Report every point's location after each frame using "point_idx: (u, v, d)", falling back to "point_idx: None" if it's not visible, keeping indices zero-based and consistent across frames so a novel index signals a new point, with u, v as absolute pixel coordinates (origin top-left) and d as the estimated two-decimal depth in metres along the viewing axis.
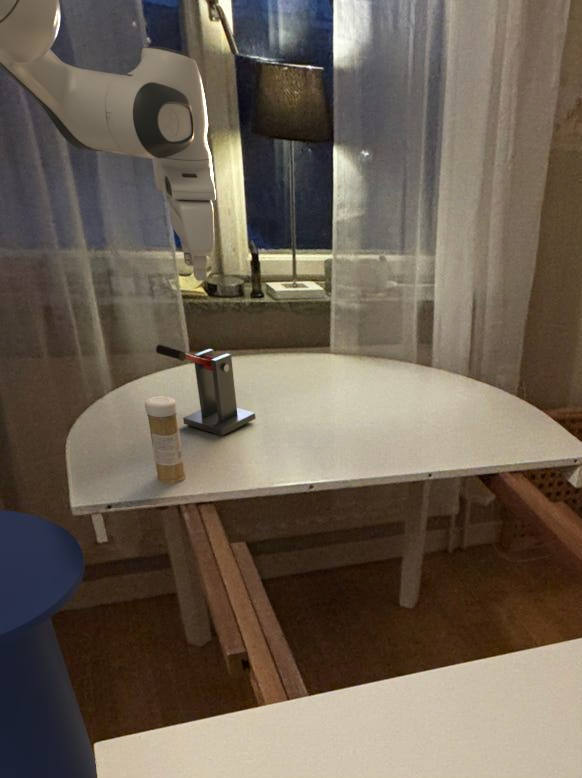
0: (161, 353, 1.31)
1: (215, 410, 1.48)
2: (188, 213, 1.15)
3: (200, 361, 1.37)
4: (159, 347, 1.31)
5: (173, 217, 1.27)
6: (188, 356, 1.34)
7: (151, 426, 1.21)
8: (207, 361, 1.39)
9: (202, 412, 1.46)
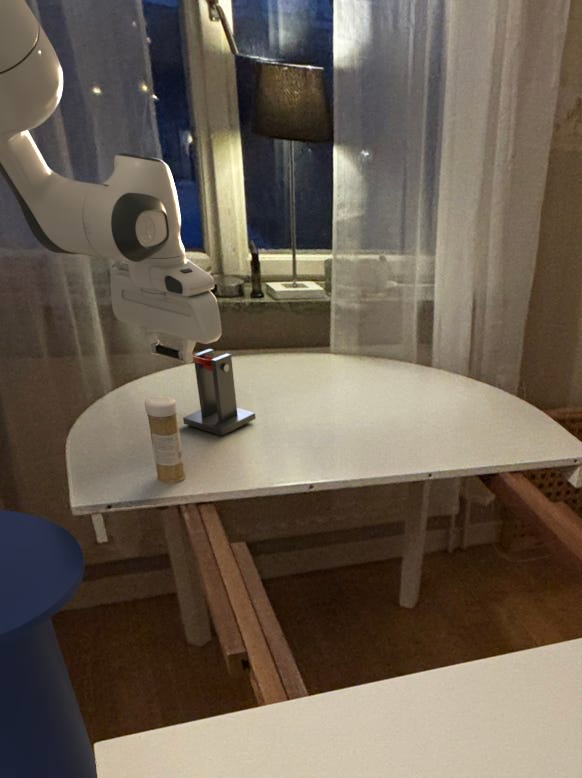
0: (161, 353, 1.31)
1: (215, 410, 1.48)
2: (202, 306, 1.21)
3: (200, 361, 1.37)
4: (159, 347, 1.31)
5: (133, 310, 1.27)
6: None
7: (151, 426, 1.21)
8: (207, 361, 1.39)
9: (202, 412, 1.46)
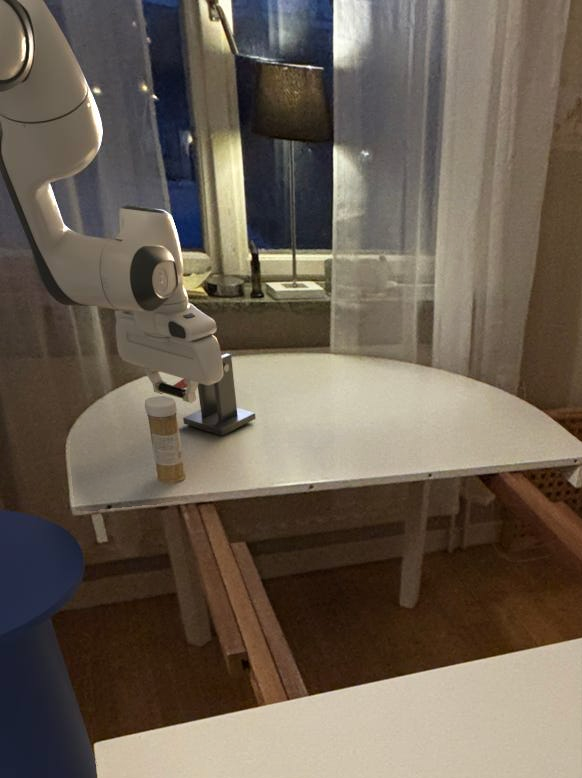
0: (165, 393, 1.35)
1: (215, 410, 1.48)
2: (205, 350, 1.25)
3: None
4: (160, 388, 1.34)
5: (137, 352, 1.31)
6: None
7: (151, 426, 1.21)
8: None
9: (202, 412, 1.46)
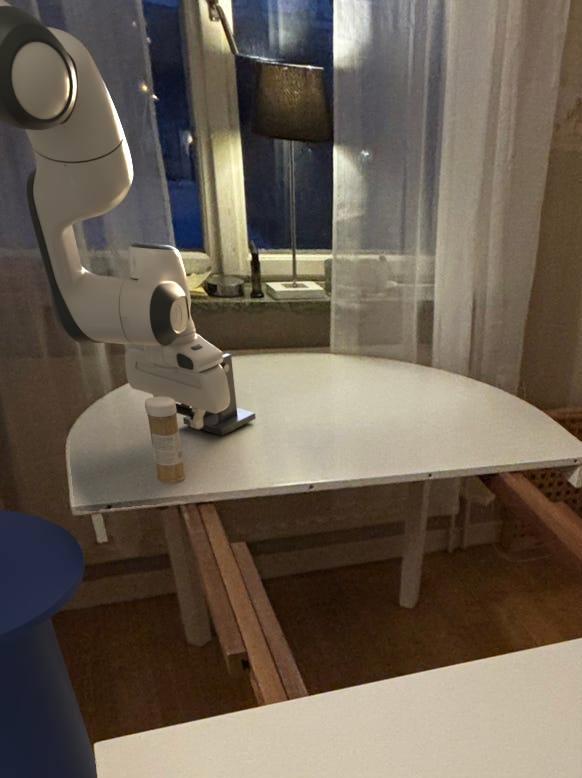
0: None
1: None
2: (212, 380, 1.29)
3: None
4: None
5: (146, 380, 1.35)
6: None
7: (151, 426, 1.21)
8: None
9: None
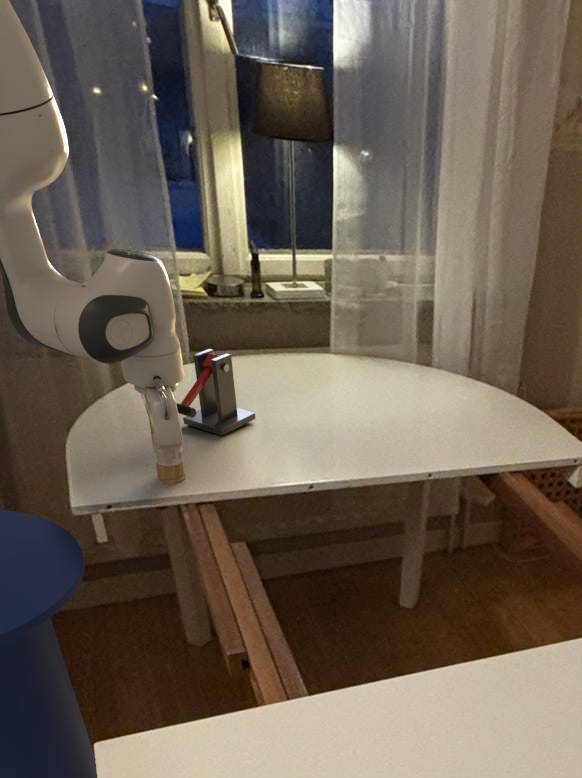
0: None
1: (215, 410, 1.48)
2: None
3: (204, 382, 1.40)
4: None
5: None
6: (194, 394, 1.38)
7: None
8: (208, 373, 1.40)
9: (202, 412, 1.46)
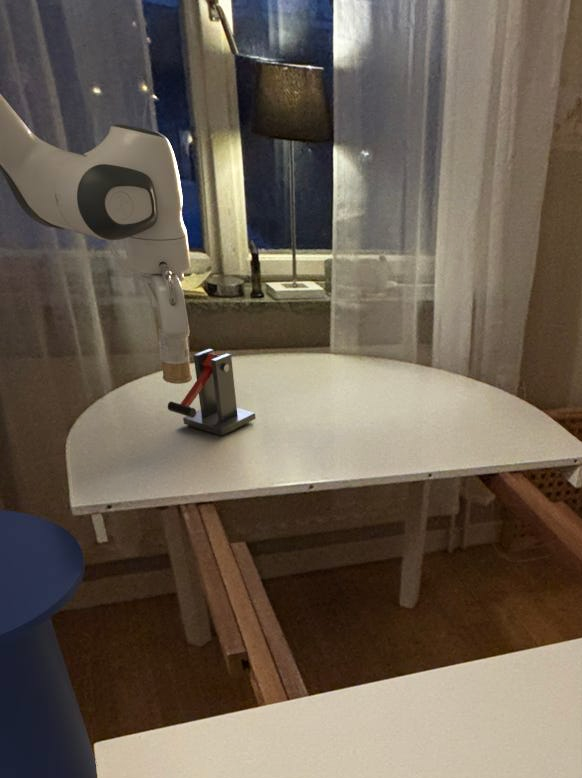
0: None
1: (215, 410, 1.48)
2: None
3: (204, 382, 1.40)
4: (170, 408, 1.38)
5: None
6: (194, 394, 1.38)
7: None
8: (208, 373, 1.40)
9: (202, 412, 1.46)
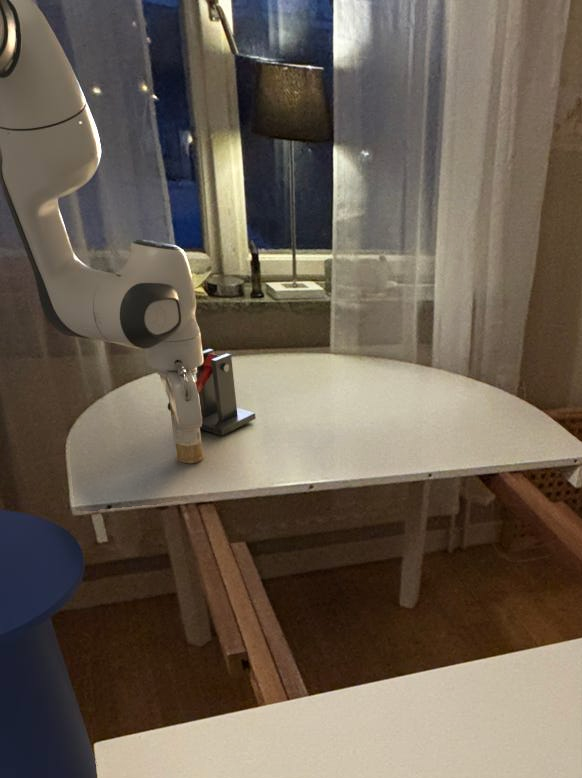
0: None
1: (215, 410, 1.48)
2: None
3: (204, 382, 1.40)
4: None
5: None
6: None
7: None
8: (208, 373, 1.40)
9: (202, 412, 1.46)
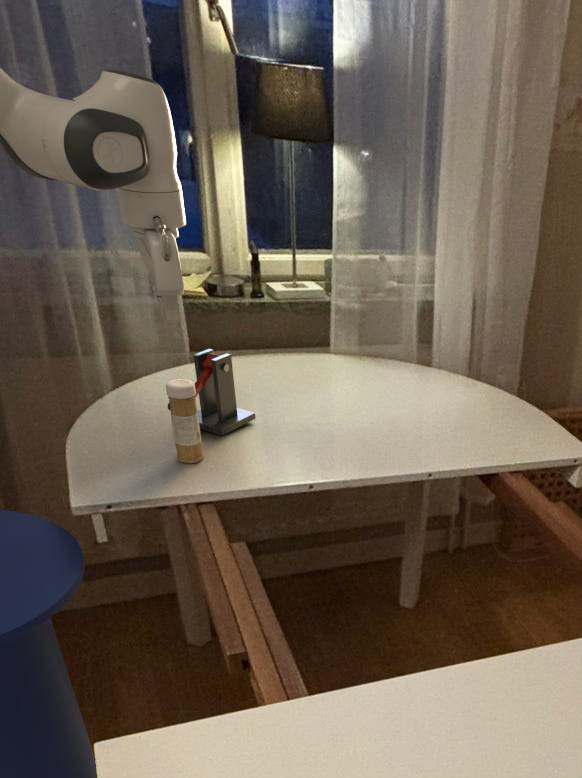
0: None
1: (215, 410, 1.48)
2: None
3: (204, 382, 1.40)
4: None
5: None
6: None
7: (171, 407, 1.27)
8: (208, 373, 1.40)
9: (202, 412, 1.46)
